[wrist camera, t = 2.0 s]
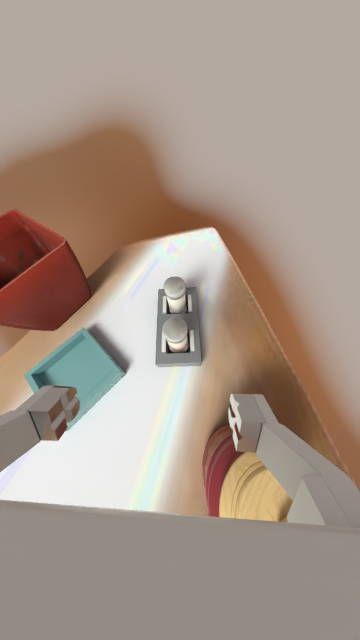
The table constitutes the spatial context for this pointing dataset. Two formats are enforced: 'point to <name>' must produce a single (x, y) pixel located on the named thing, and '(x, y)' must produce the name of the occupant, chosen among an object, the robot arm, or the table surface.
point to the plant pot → (37, 275)
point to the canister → (240, 483)
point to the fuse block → (193, 330)
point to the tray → (78, 370)
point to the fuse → (175, 295)
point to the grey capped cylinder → (176, 334)
